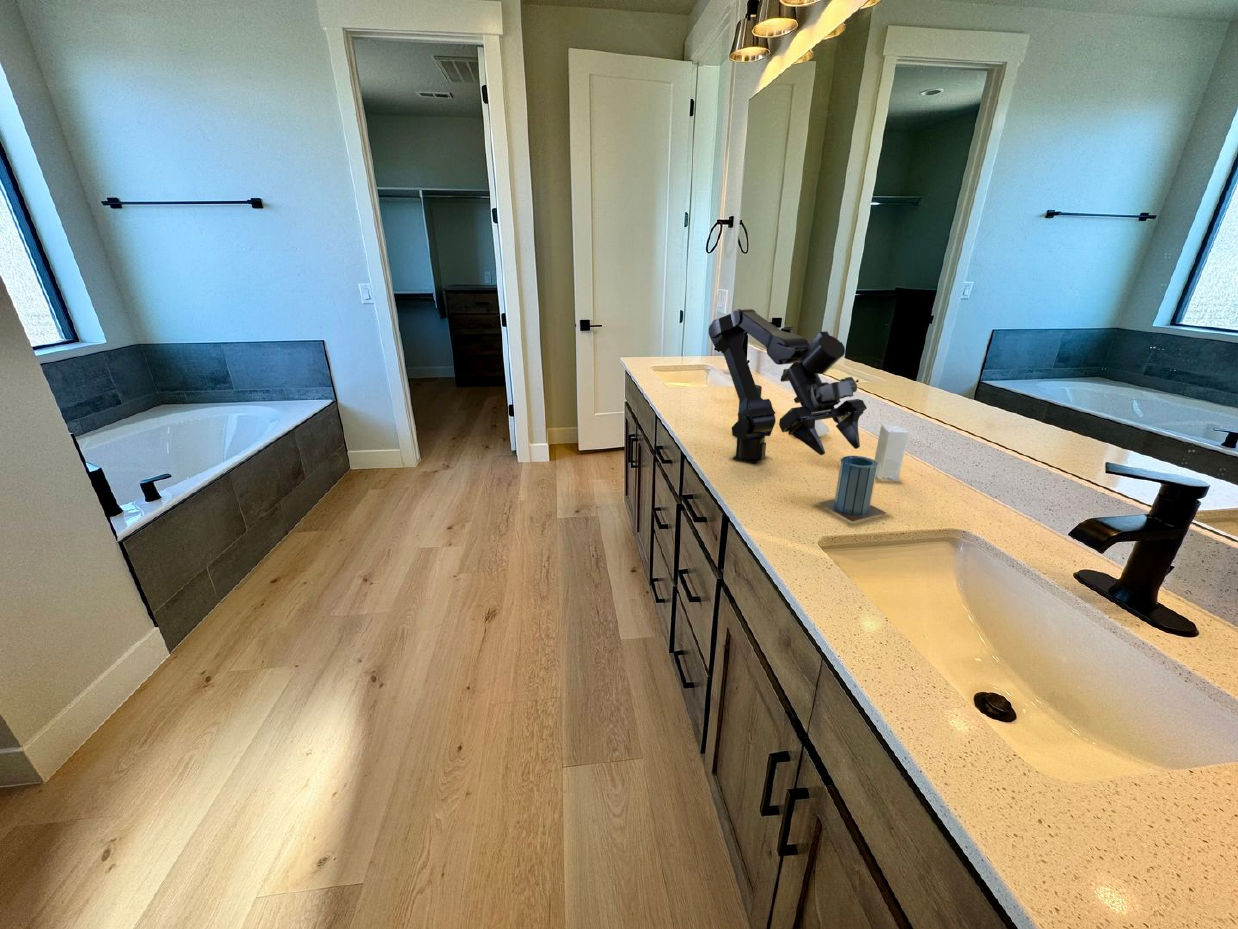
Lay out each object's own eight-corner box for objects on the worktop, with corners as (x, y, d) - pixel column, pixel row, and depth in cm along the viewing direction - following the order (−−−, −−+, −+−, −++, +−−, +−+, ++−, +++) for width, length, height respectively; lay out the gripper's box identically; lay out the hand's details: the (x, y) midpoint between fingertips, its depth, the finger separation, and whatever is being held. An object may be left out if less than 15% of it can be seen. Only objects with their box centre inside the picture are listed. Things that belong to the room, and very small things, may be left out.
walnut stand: (817, 506, 102) (820, 480, 99) (849, 498, 105) (854, 473, 103) (851, 525, 94) (856, 497, 92) (886, 516, 97) (891, 489, 95)
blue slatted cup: (830, 509, 98) (837, 462, 95) (839, 498, 103) (846, 453, 100) (865, 517, 95) (873, 469, 91) (872, 506, 100) (881, 459, 96)
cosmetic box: (898, 483, 112) (909, 433, 108) (878, 481, 113) (888, 432, 108) (890, 473, 118) (900, 425, 113) (871, 472, 118) (880, 424, 114)
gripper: (794, 367, 95) (830, 438, 89) (866, 360, 101) (904, 425, 96) (765, 399, 104) (795, 464, 99) (832, 390, 111) (864, 451, 105)
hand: (840, 451), depth 99 cm, fingers open, 9 cm apart
